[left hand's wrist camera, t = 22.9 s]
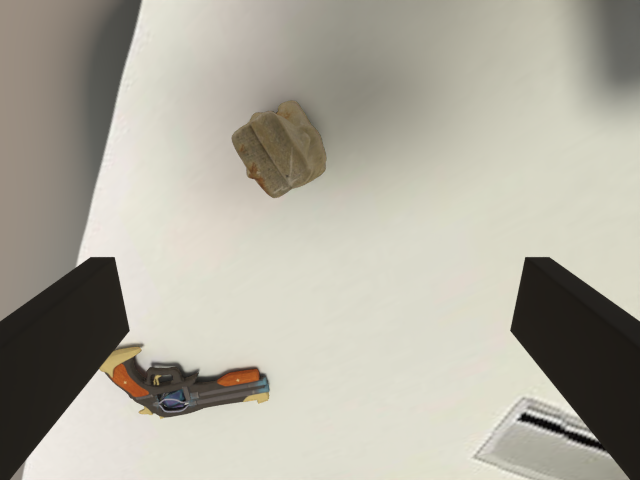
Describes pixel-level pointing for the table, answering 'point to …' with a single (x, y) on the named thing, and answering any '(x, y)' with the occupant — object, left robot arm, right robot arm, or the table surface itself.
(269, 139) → the sculpture
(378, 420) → the table surface
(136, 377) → the toy gun
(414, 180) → the table surface
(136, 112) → the table surface
